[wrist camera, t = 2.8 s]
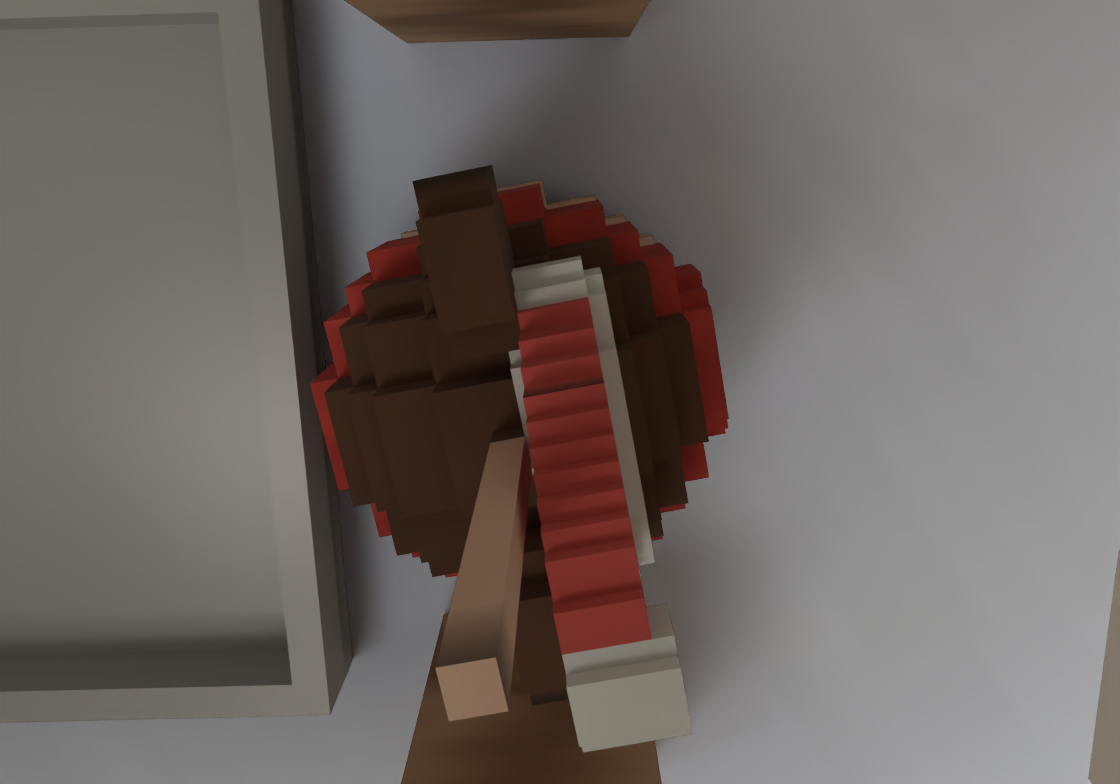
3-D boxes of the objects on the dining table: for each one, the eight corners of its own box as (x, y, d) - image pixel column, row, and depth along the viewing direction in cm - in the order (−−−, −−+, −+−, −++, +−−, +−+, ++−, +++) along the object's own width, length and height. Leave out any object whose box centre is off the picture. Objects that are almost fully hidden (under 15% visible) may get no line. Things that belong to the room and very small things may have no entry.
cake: (328, 196, 27) (-115, 291, 9) (656, 130, 26) (843, 99, 9) (415, 542, 29) (198, 1125, 12) (714, 488, 29) (947, 1011, 11)
